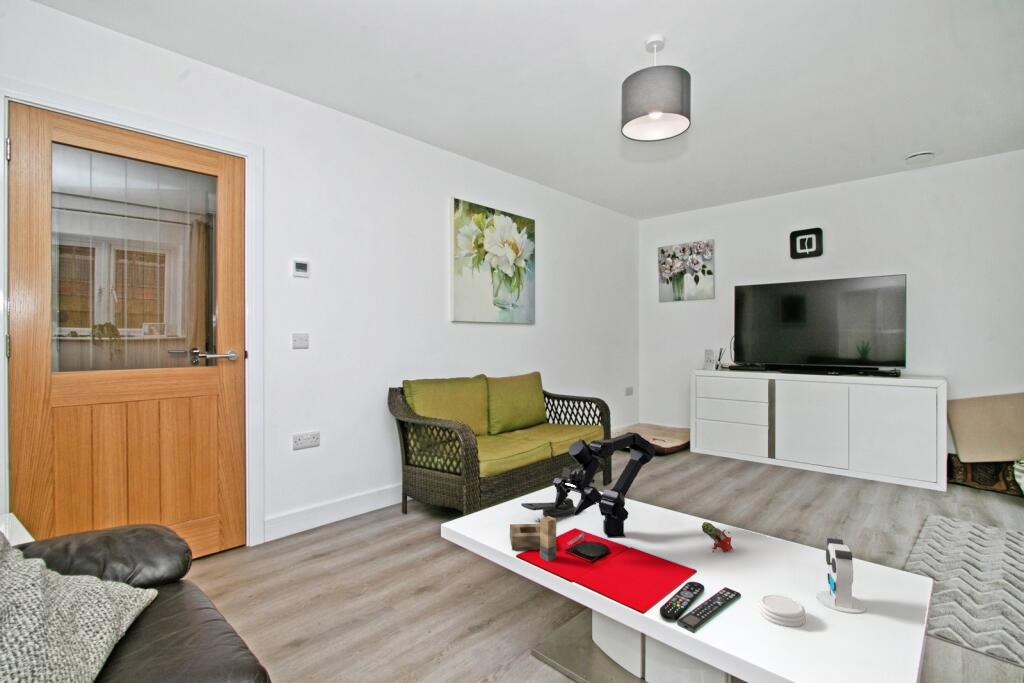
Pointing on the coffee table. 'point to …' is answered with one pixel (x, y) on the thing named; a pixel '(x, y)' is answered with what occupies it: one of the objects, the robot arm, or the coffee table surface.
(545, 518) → the rail post
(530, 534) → the post foot
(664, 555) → the coffee table surface
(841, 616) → the coffee table surface
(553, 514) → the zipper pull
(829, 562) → the panda figurine
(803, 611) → the coaster
